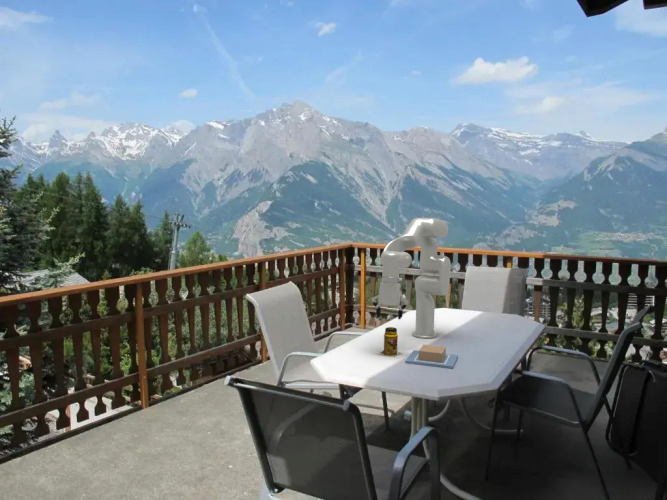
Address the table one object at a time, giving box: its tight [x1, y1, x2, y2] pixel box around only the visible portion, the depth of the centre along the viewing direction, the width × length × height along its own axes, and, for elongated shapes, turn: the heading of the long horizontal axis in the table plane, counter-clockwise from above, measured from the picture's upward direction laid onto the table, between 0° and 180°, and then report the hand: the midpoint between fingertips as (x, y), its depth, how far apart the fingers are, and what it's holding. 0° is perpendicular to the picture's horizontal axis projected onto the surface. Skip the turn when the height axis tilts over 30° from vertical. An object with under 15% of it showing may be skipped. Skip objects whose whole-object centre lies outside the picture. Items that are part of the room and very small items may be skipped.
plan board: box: [404, 344, 459, 370], centre depth 221 cm, size 18×20×5 cm
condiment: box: [377, 326, 401, 358], centre depth 230 cm, size 7×8×12 cm
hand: (389, 317), depth 229 cm, fingers open, 9 cm apart
